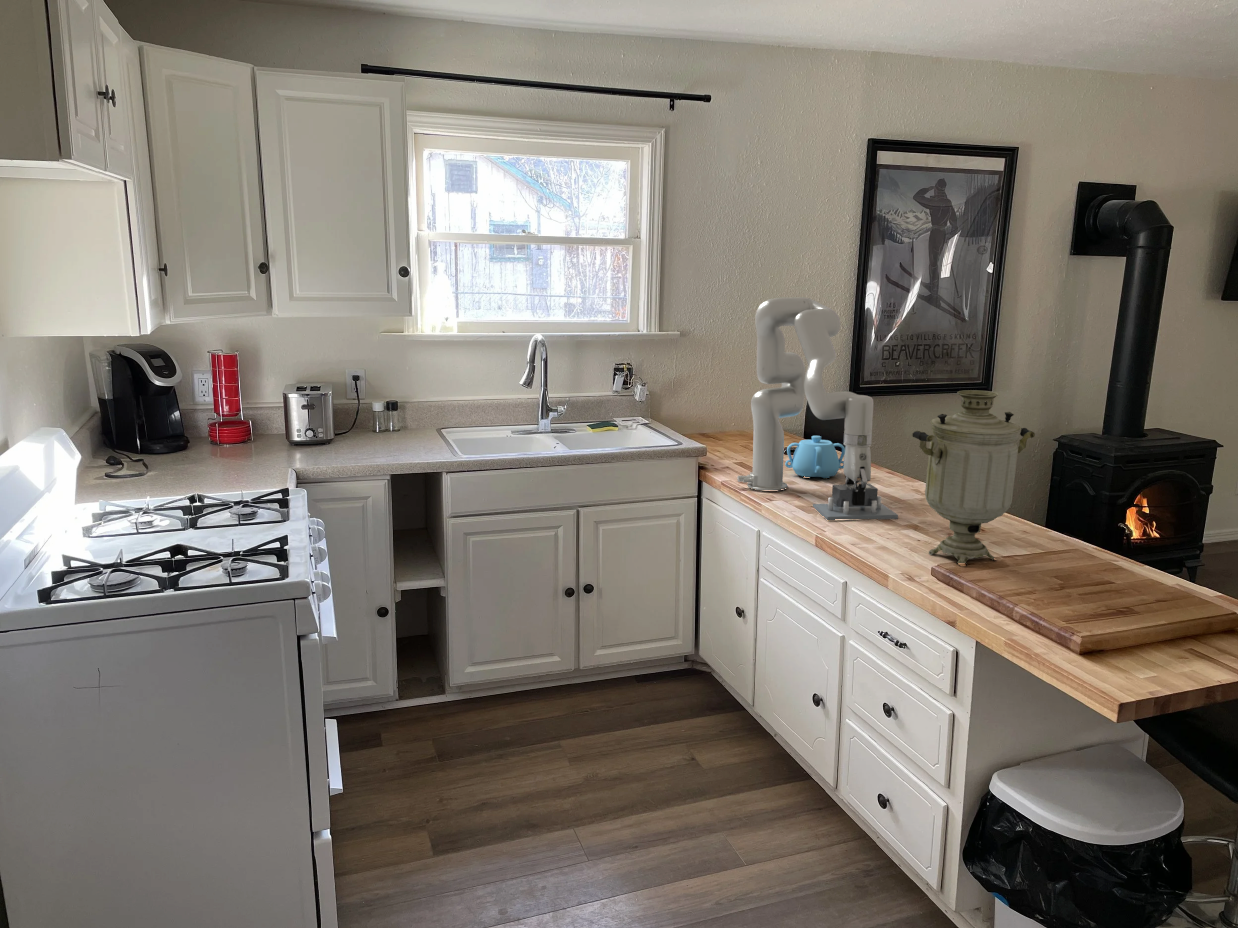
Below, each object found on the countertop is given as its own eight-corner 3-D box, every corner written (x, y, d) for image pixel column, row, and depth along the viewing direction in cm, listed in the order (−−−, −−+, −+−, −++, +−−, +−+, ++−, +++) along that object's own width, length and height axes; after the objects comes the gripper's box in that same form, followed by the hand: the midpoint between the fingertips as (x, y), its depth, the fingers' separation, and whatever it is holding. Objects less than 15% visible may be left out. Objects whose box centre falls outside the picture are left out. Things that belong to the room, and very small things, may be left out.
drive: (838, 507, 256) (839, 489, 255) (831, 501, 262) (832, 484, 261) (876, 505, 257) (877, 488, 256) (868, 500, 263) (869, 483, 262)
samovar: (996, 537, 236) (1009, 383, 228) (1046, 569, 211) (1062, 397, 202) (882, 539, 236) (891, 384, 227) (918, 572, 210) (929, 399, 202)
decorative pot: (815, 468, 318) (817, 430, 315) (850, 477, 305) (851, 437, 302) (780, 474, 310) (781, 435, 307) (814, 483, 296) (815, 442, 294)
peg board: (827, 520, 252) (828, 504, 252) (812, 508, 266) (813, 492, 265) (897, 518, 254) (898, 502, 253) (879, 506, 268) (880, 490, 267)
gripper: (881, 445, 248) (878, 509, 251) (860, 433, 264) (856, 494, 268) (854, 445, 247) (851, 510, 251) (834, 434, 264) (831, 494, 268)
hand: (854, 501), depth 260 cm, fingers closed on drive, 6 cm apart
